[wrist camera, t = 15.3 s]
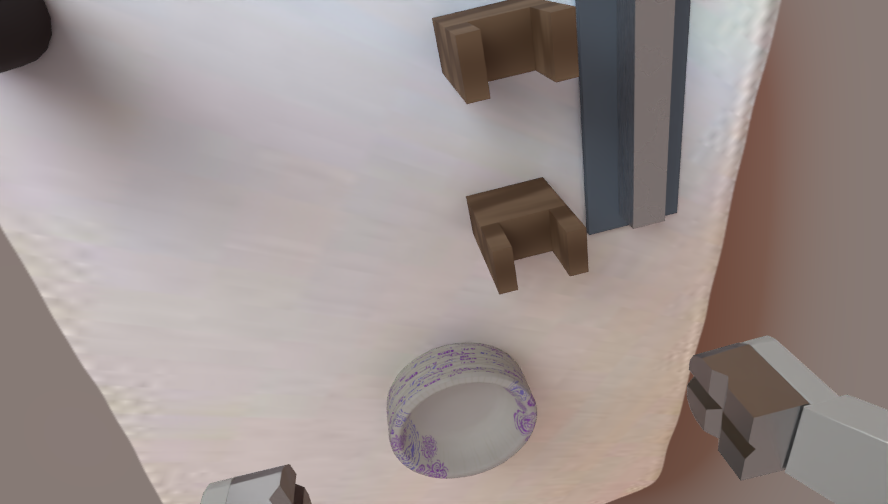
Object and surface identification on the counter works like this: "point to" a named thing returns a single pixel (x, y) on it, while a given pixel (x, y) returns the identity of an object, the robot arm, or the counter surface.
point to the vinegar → (23, 32)
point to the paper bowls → (459, 411)
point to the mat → (601, 109)
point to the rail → (643, 107)
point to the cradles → (469, 70)
